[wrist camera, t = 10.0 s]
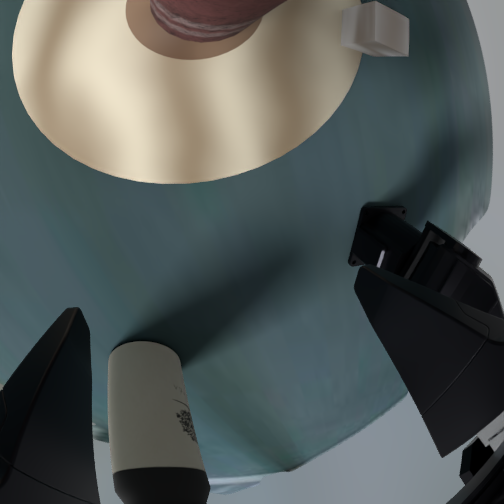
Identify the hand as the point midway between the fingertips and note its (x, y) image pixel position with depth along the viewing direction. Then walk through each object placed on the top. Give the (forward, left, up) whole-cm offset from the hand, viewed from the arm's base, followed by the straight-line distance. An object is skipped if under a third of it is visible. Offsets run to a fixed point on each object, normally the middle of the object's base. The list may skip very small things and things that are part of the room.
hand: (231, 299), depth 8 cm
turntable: (0, -12, -12) cm, 17 cm away
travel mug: (+6, +19, -13) cm, 24 cm away
